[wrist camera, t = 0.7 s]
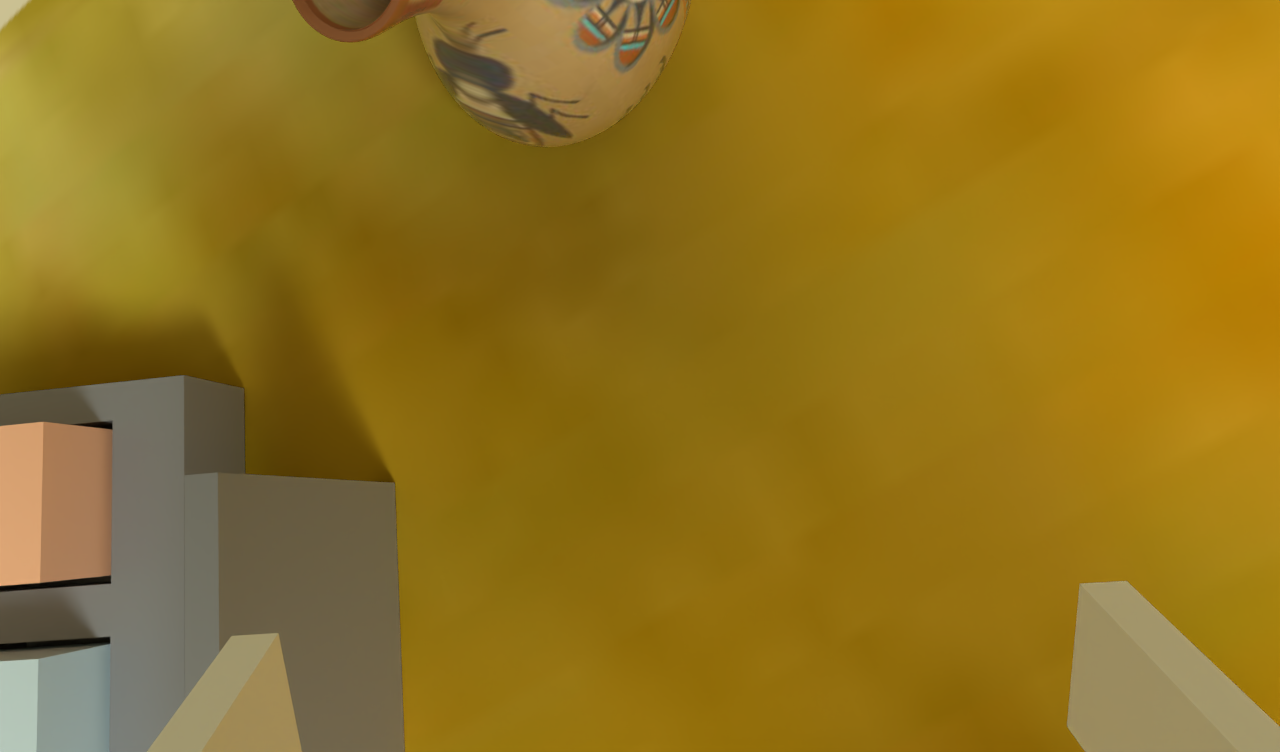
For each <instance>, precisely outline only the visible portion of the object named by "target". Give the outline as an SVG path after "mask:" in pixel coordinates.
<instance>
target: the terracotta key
mask: <svg viewBox="0 0 1280 752" xmlns="http://www.w3.org/2000/svg"><path fill="white" fill-rule="evenodd" d="M112 434H113V430H112V429H103V428H94V427H85V426H77V425H68V424H59V423H50V422H36V423H26V424H16V425H6V426H0V586H5V585H18V584H32V583H43V582H53V581H62V580H72V579H81V578H91V577H100V576H109V575H111V535H112Z"/></svg>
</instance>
